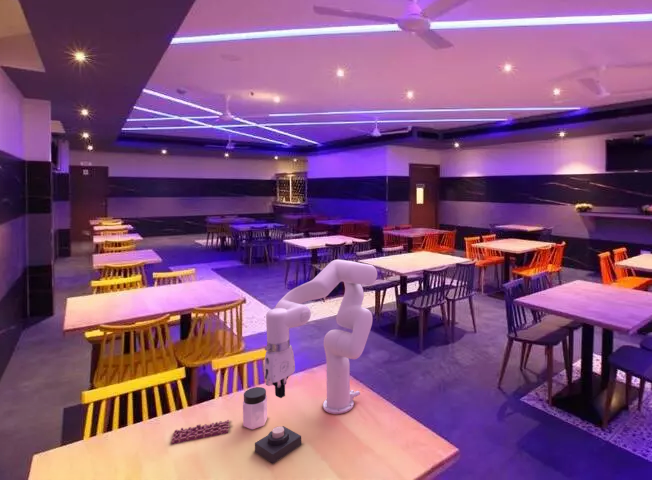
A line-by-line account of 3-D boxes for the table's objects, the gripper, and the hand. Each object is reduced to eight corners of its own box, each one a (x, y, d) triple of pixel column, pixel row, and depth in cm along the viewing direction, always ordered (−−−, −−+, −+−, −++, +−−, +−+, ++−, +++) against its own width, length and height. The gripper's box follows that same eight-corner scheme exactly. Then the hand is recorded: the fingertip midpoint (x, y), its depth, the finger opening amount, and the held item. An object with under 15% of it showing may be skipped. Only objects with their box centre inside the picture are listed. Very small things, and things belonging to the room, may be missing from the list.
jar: (245, 432, 148) (245, 400, 147) (240, 421, 154) (240, 391, 154) (270, 424, 152) (269, 393, 152) (264, 414, 159) (263, 384, 159)
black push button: (283, 434, 146) (283, 421, 146) (301, 444, 140) (301, 430, 140) (254, 452, 137) (254, 437, 136) (273, 463, 131) (272, 449, 130)
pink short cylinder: (279, 430, 141) (279, 424, 141) (286, 434, 139) (286, 428, 139) (269, 436, 138) (269, 430, 138) (277, 440, 135) (277, 434, 135)
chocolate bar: (229, 433, 147) (229, 428, 147) (172, 445, 141) (171, 439, 141) (230, 422, 154) (230, 417, 154) (175, 433, 148) (175, 428, 148)
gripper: (267, 355, 130) (269, 409, 131) (302, 340, 142) (303, 389, 143) (253, 350, 135) (255, 402, 136) (288, 335, 147) (290, 383, 148)
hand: (280, 395), depth 139 cm, fingers closed
